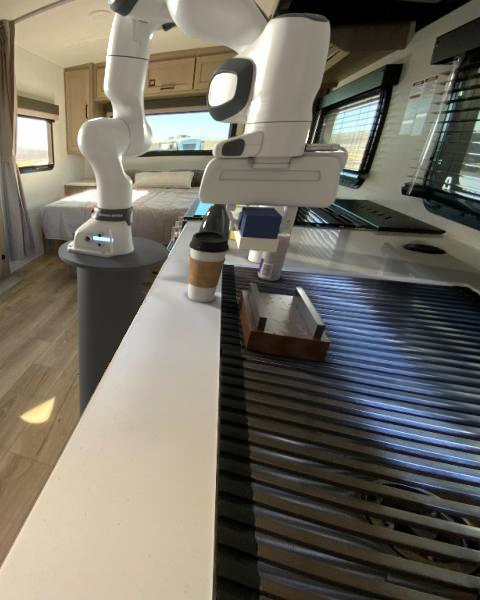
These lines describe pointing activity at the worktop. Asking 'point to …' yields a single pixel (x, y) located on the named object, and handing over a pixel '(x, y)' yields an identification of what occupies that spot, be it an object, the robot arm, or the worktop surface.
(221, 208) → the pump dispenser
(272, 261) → the energy drink
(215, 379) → the worktop surface
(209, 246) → the coffee cup
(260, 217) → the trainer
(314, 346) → the shoe shelf
